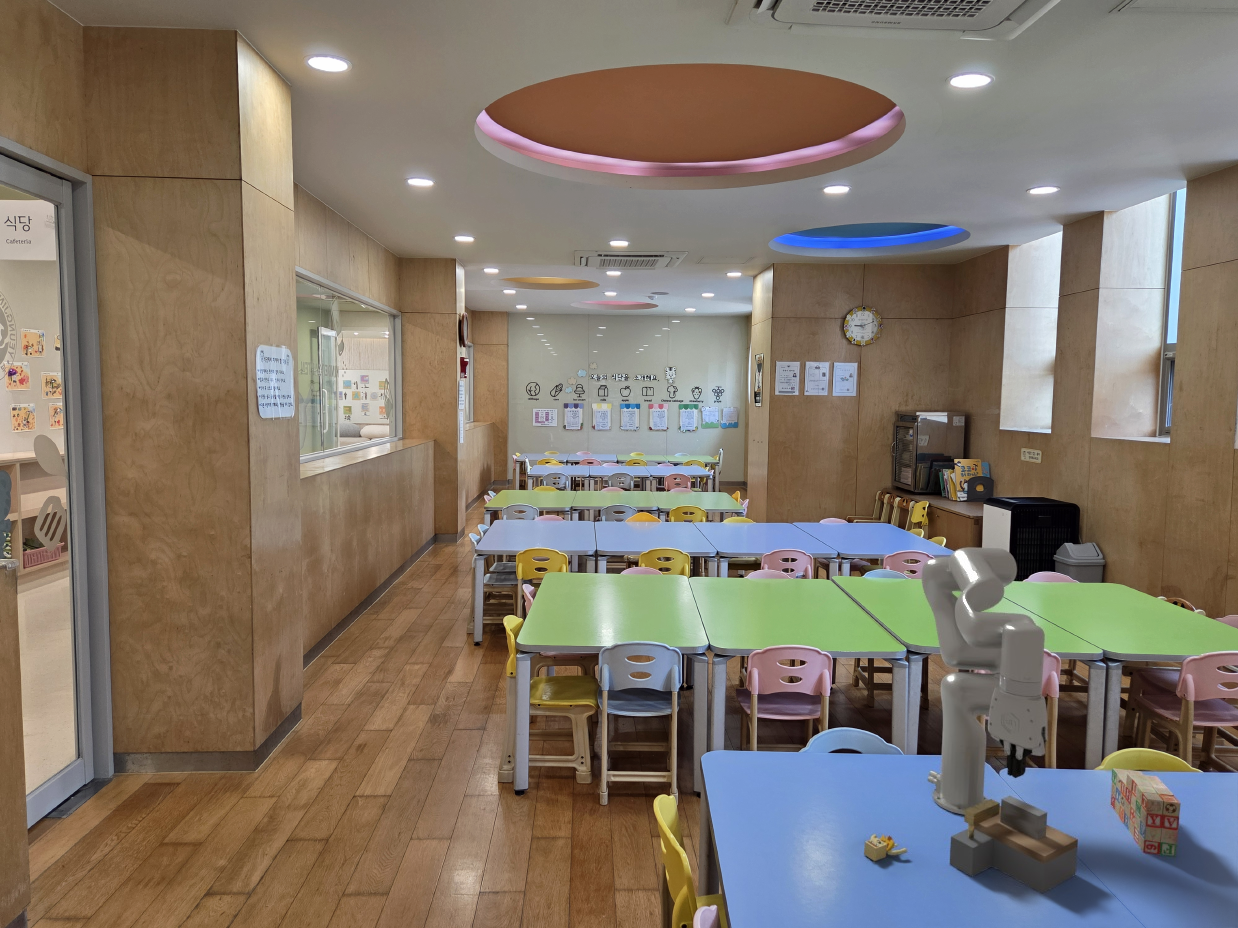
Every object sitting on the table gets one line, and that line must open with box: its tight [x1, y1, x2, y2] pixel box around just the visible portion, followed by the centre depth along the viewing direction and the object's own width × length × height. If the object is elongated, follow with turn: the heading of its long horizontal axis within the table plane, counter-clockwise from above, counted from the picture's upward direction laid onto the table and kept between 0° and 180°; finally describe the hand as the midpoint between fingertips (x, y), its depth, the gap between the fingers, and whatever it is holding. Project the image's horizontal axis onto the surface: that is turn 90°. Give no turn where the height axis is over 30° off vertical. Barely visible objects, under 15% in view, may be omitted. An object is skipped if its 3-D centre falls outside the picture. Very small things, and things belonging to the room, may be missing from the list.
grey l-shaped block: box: [949, 828, 1078, 894], centre depth 161 cm, size 16×19×6 cm
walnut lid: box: [975, 795, 1079, 864], centre depth 162 cm, size 16×12×6 cm
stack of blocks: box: [1110, 767, 1181, 858], centre depth 177 cm, size 21×6×12 cm, turn 165°
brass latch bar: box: [963, 798, 1001, 838], centre depth 163 cm, size 2×9×6 cm, turn 122°
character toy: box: [863, 834, 908, 862], centre depth 166 cm, size 8×3×8 cm
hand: (1015, 774), depth 158 cm, fingers closed
